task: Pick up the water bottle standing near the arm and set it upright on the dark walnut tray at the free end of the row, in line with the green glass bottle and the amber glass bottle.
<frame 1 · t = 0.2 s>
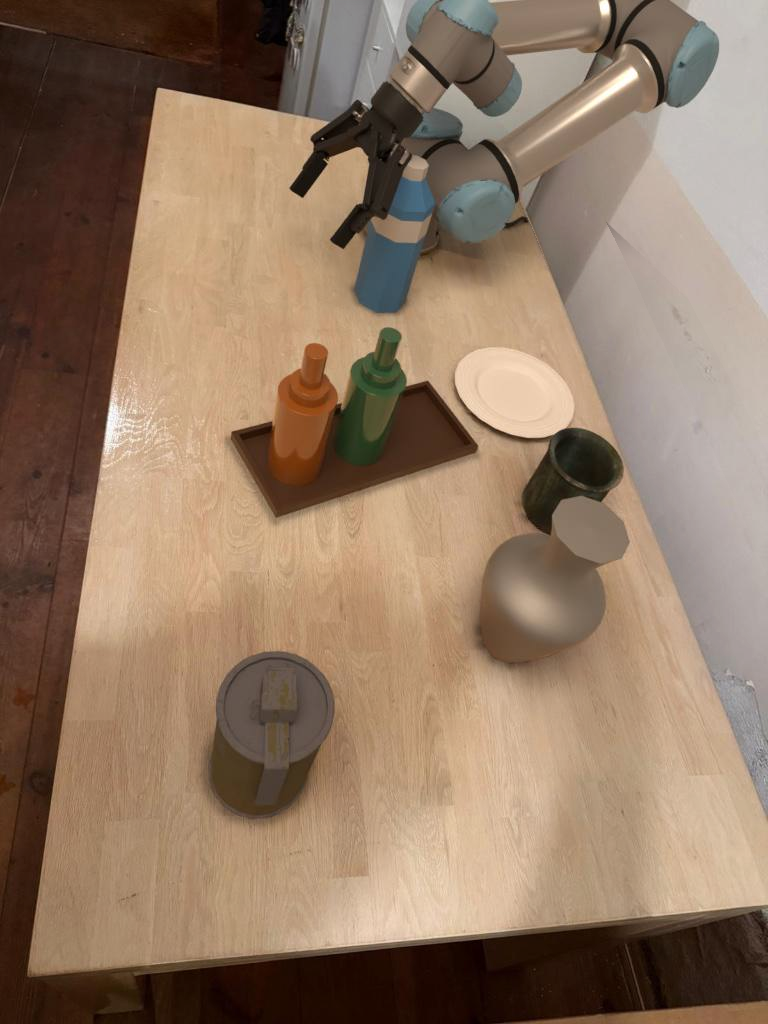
hand: (315, 218, 114), 16 cm above the table, tool tilted 35°, fingers open, 13 cm apart
water bottle: (379, 297, 132), on the table
canister: (258, 770, 79), on the table
green bottle: (358, 445, 109), point 1 cm above the table, touching tray
mug: (553, 519, 110), on the table
vase: (505, 640, 95), on the table
plate: (511, 398, 124), on the table
tray: (357, 448, 109), on the table
amber bottle: (294, 464, 104), point 1 cm above the table, touching tray
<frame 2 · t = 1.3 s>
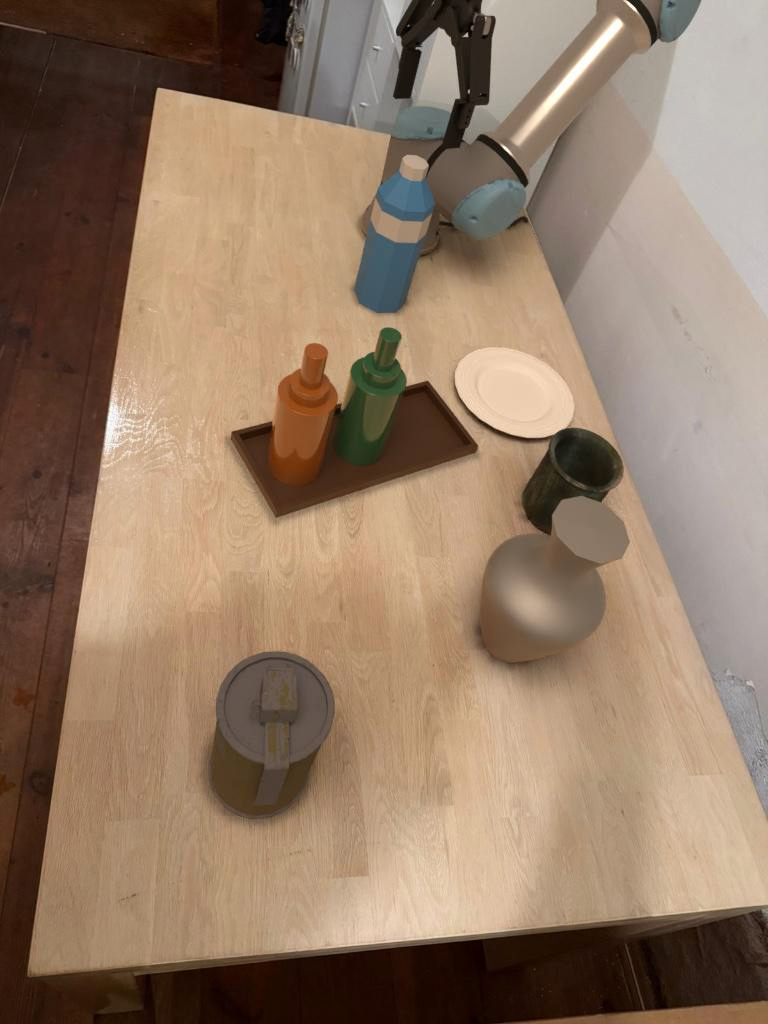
hand: (425, 121, 107), 31 cm above the table, tool pointing down, fingers open, 13 cm apart
nothing on the table moved.
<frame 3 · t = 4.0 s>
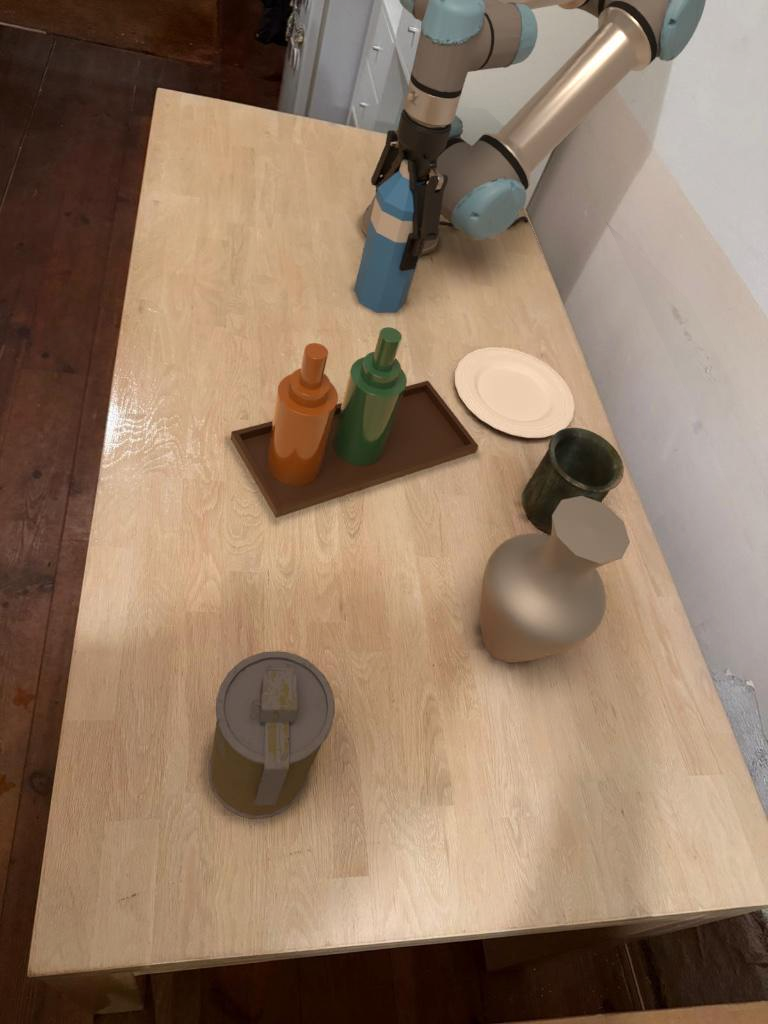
hand: (391, 250, 124), 10 cm above the table, tool pointing down, fingers closed on water bottle, 9 cm apart
water bottle: (379, 297, 132), on the table, touching gripper
everything else where it was.
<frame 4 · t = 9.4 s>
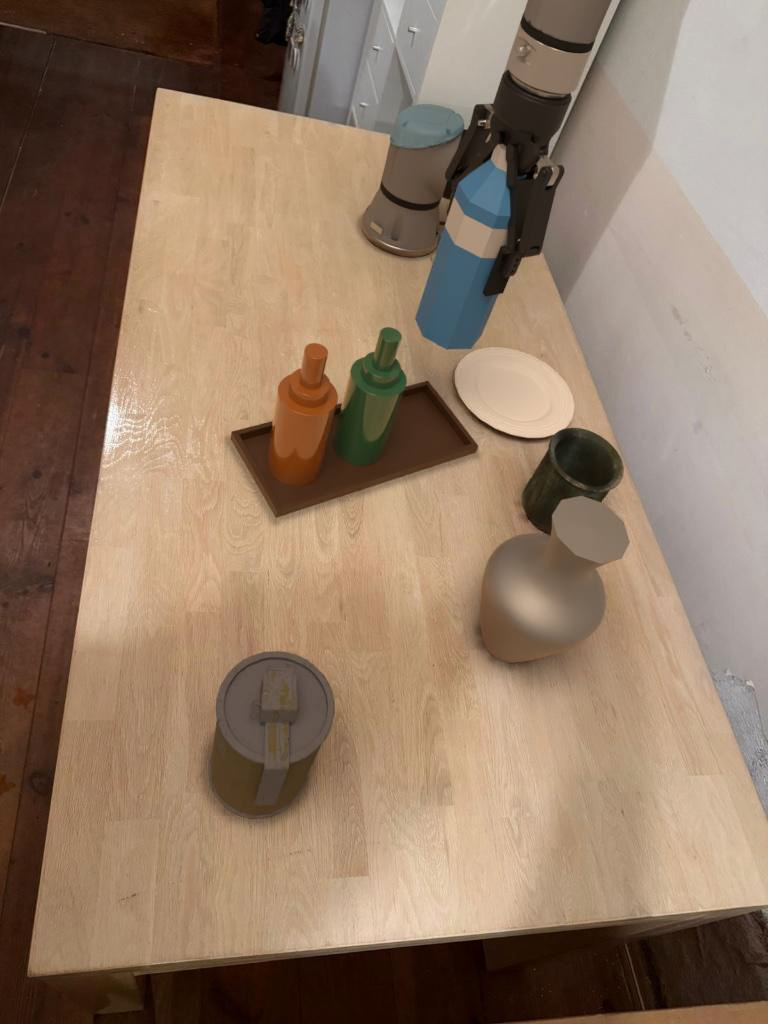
hand: (470, 267, 93), 28 cm above the table, tool pointing down, fingers closed on water bottle, 9 cm apart
water bottle: (447, 328, 100), point 19 cm above the table, touching gripper
everything else where it was.
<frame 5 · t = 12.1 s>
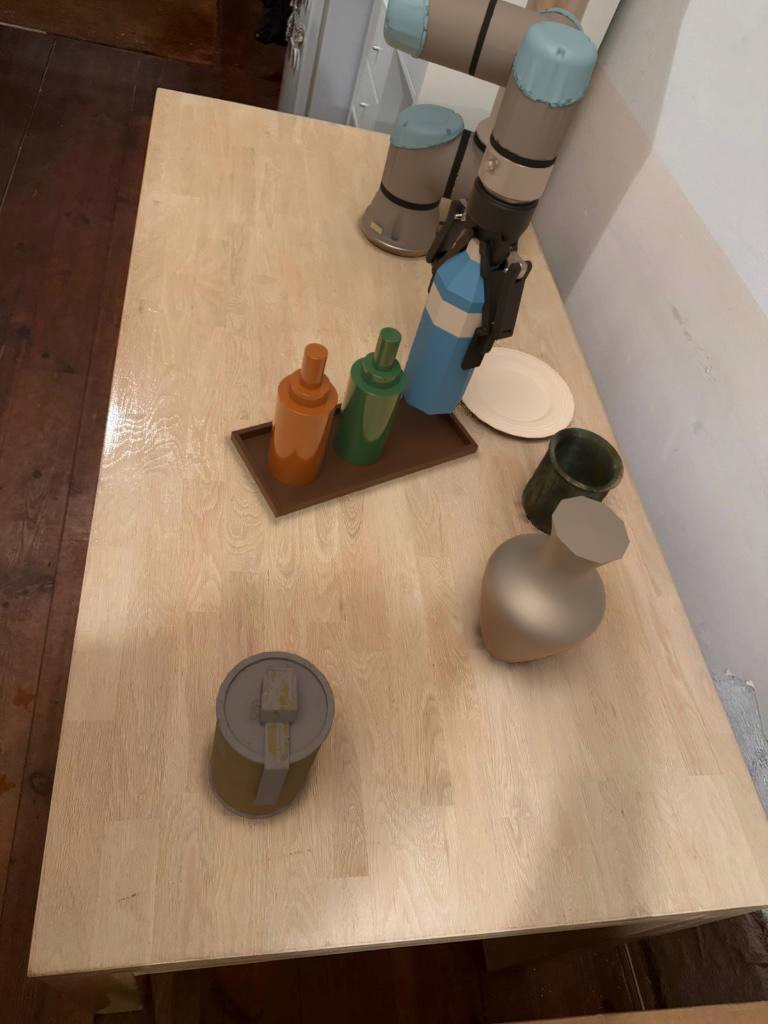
hand: (449, 341, 100), 18 cm above the table, tool pointing down, fingers closed on water bottle, 9 cm apart
water bottle: (430, 392, 107), point 8 cm above the table, touching gripper
everything else where it was.
when the fingers open (10 cm above the table, at t = 14.7 s): water bottle stays where it is, resting on tray.
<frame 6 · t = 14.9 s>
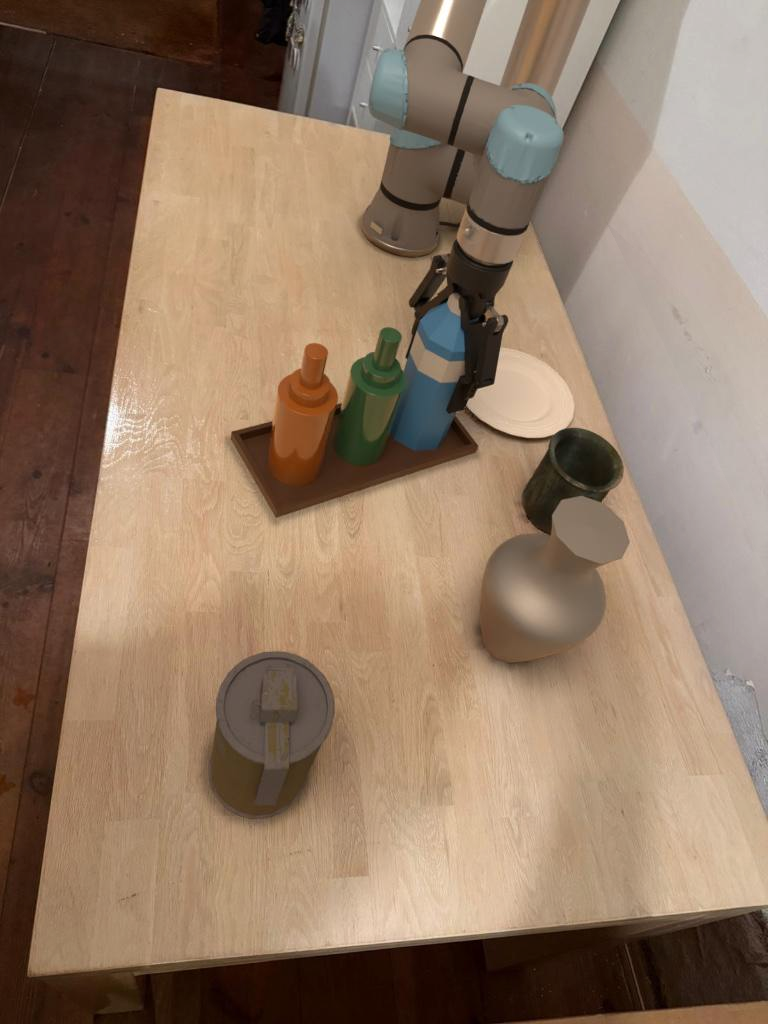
hand: (434, 383, 106), 10 cm above the table, tool pointing down, fingers open, 10 cm apart
water bottle: (416, 429, 113), resting on tray
everything else where it was.
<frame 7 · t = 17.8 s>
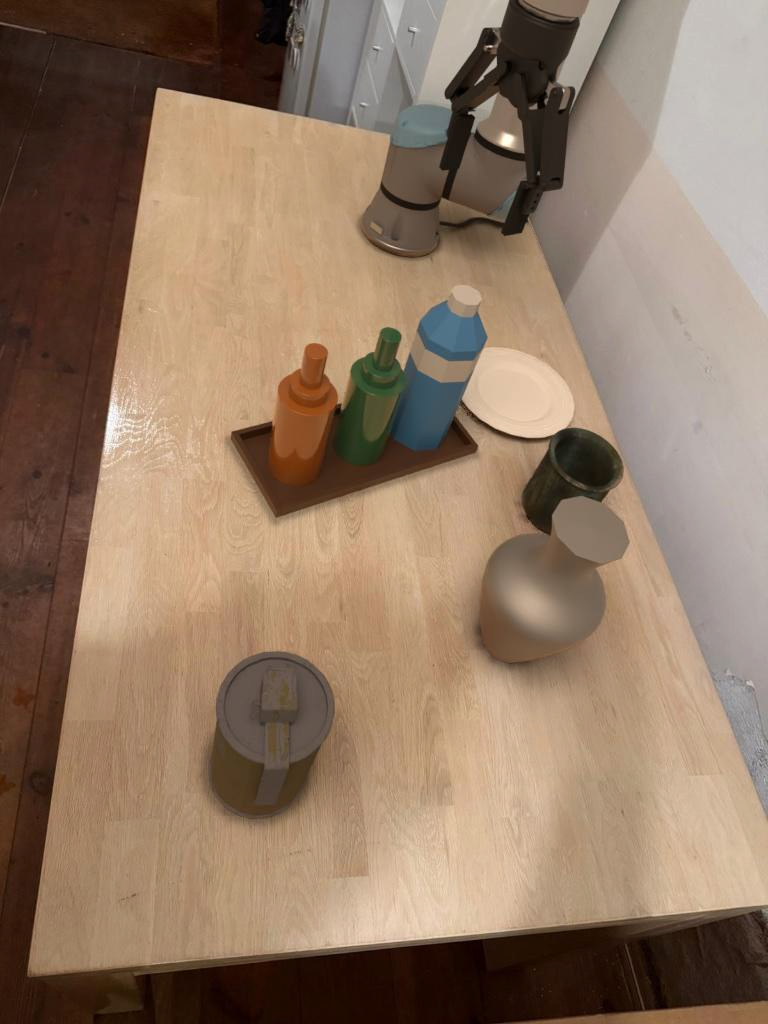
hand: (479, 199, 91), 35 cm above the table, tool pointing down, fingers open, 13 cm apart
nothing on the table moved.
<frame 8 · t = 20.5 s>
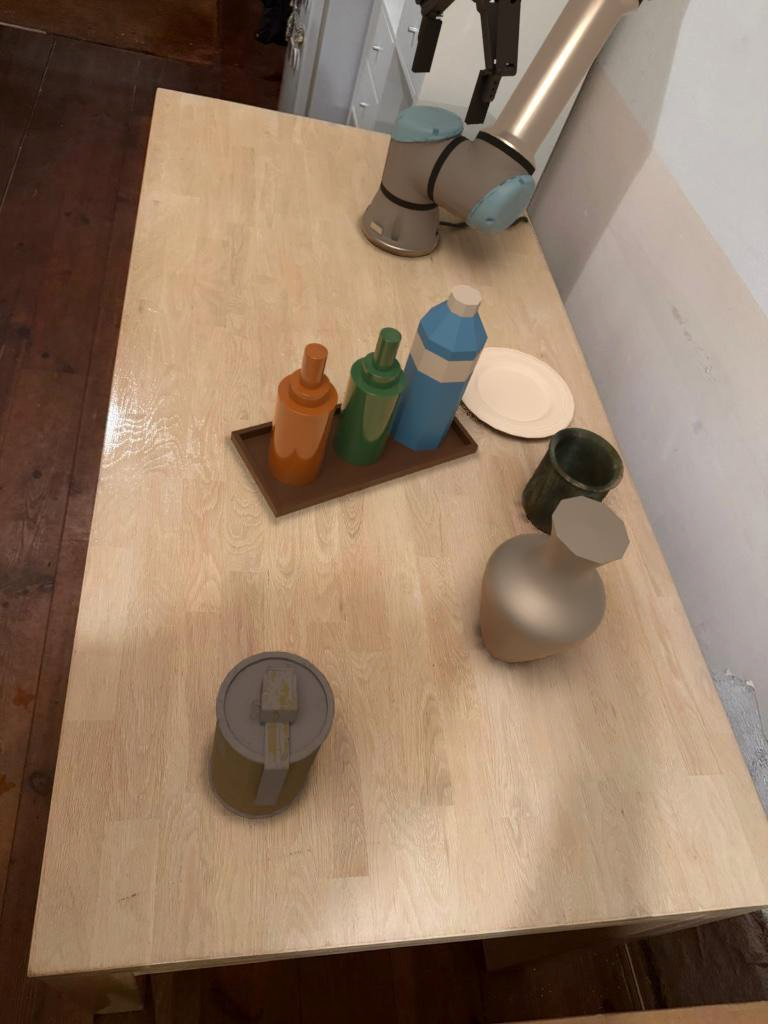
hand: (446, 96, 101), 37 cm above the table, tool pointing down, fingers open, 13 cm apart
nothing on the table moved.
at the end: water bottle 0.1 cm from the target spot in the tray, point 0.4 cm above the tray's base; water bottle tilted 0°; green bottle moved 0.0 cm from its start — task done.
